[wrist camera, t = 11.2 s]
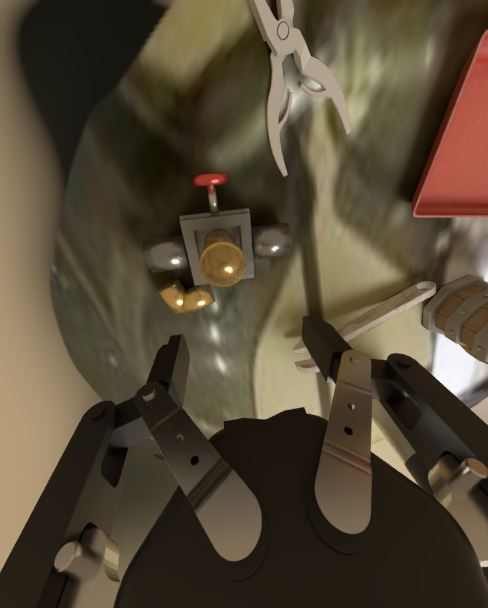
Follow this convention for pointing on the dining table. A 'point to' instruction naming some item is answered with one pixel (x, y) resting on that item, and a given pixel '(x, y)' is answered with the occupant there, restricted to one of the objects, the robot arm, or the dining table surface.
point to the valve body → (200, 225)
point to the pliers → (291, 41)
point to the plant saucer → (460, 148)
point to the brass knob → (222, 260)
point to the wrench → (373, 318)
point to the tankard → (461, 315)
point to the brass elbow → (185, 297)
